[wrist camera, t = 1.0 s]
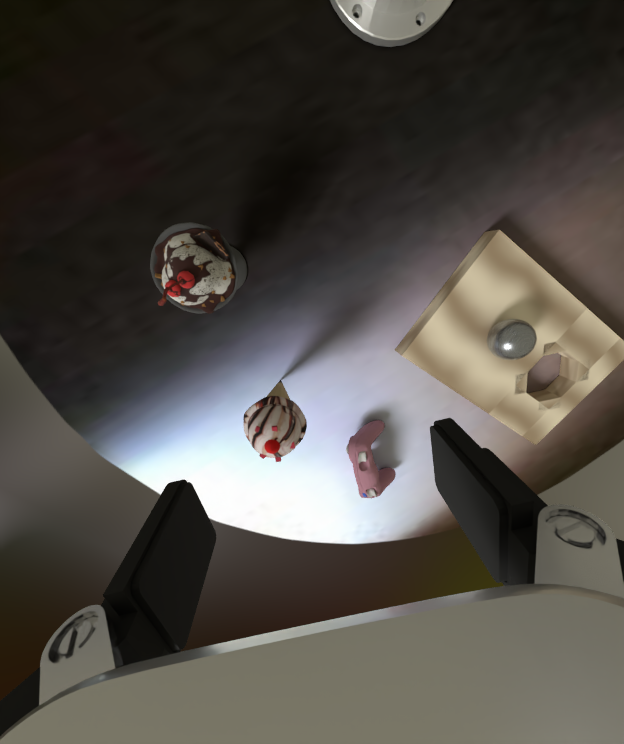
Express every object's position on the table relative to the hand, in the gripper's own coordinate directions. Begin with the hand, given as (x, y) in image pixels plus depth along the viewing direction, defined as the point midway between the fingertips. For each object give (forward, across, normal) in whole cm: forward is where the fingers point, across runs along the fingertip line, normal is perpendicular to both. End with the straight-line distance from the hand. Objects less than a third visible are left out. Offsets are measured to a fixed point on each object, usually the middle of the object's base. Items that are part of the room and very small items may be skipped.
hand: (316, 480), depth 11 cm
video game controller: (+26, -5, +19) cm, 32 cm away
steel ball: (+21, -22, +5) cm, 31 cm away
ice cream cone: (+26, +4, +5) cm, 26 cm away
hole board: (+25, -25, +8) cm, 36 cm away
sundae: (+26, +7, -9) cm, 28 cm away
